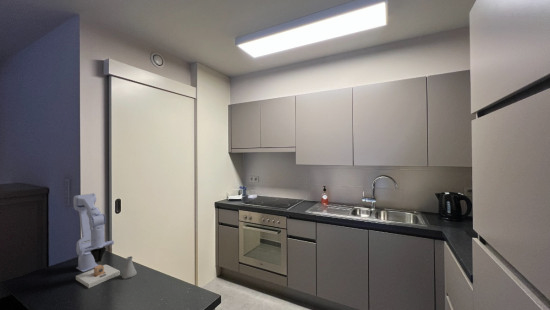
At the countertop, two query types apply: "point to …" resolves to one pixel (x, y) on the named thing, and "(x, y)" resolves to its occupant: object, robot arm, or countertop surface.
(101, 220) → the robot arm
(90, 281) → the socket
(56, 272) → the countertop surface
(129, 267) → the flask
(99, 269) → the plug
